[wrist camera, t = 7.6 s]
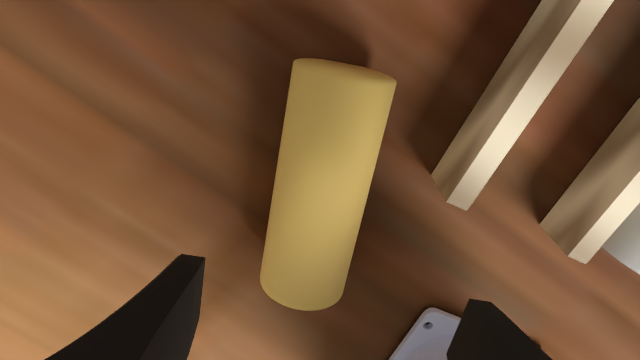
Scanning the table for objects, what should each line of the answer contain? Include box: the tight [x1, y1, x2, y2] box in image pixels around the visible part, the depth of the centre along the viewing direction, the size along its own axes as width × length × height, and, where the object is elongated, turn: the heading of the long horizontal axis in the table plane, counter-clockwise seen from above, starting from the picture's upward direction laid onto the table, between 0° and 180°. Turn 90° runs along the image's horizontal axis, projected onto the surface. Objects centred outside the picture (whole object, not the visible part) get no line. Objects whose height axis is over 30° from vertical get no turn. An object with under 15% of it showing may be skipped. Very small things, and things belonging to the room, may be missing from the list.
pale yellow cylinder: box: [260, 58, 397, 311], centre depth 19 cm, size 10×4×4 cm, turn 170°
